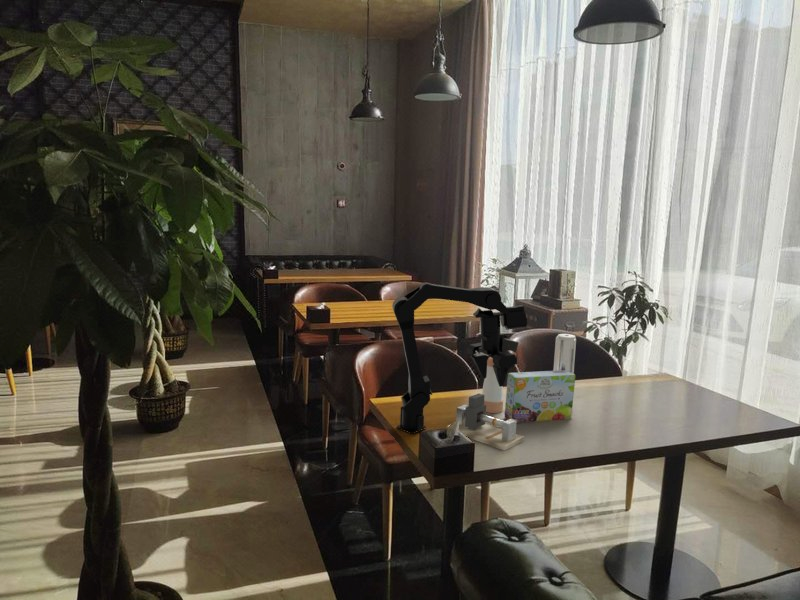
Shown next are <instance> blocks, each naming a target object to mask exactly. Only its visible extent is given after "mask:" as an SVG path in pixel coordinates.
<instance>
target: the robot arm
mask: <svg viewBox="0 0 800 600" xmlns="http://www.w3.org/2000/svg"><path fill="white" fill-rule="evenodd" d="M430 298H431V299H439V300H445V301H446V300H447V301H454V302H461V303H469V304H471V305H474V306H477V307H478V308H477V309H476V311H474V312H473V314H472V315H473V317H475V319H477V318H478V319H480V320H479V323H480V333H478V334H477V336H478V337H477V338H478V339H480V342H478V343H472V344H469V345H468V346H467V348H466V349H467V355H469V358H471V360H472V362H473V363H474V364H475V366H476V369H477V370H478V372H479V374H480V376H481V378H482V379H483V380H484V379H485V378H486V375H487V360H488V358H489V357H491V358H493V363H494V365H493V369H494V372H495V375H496V378H497V381H498V384H499V386H500V387H501V386H504V384H505V382H506V379H507V376H508V373H509V370H510V369H511V367H515V366H516V365H518V363H519V361H518V360H519V359H518V356H517V355H516V354H515V353H517V351H518V348H519V343H520V342H518V341H515V340H513V339H510V338H508V335H507V334H504V333H502V332H501V327H503V328H505V330H518V329H526V328H527V327H528V317H527V314H526V311H525V306H524V305H523V304H521V305H520V304H519V305H518V304H517V305H513V306H506V305H505V304H504V302H503V301H502V296H501V294H500V292H499V291H497V290H495V289H493V288H491V287H473V288H463V287H457V286H456V287H455V286H450V285H442V284H435V283H434V284H433V283H430V282H427V281H426V282H423V283H421V284H420V285H419V286H417V287H416V288H414V289H413V290H411V291H410V292H408V293H406V294H404V296H398V297H396V298H395V299H394V301H393V302H392V303H391V304H392V305H391V306H392V307H391V308H392V311H393V313H394V316H395V318H396V322H397V324H398V327H399V329H400V334H401V339H402V344H403V345H402V346H403V350H404V355H405V360H406V366H407V370H408V381H407V382H408V384H407V385H408V390H407V391H406V393H404V394H403V395H402V396H401V398H400V399H401V402H402V406H400V417H399V419H400V423H399V424H397V426H396V429H399V430H401V429H402V430H401V431H403V430H405V431H404V432H406V431H408V432H410V433H409V434H411V433H413V434H415V433H414V432H416V431H418V432H420V431H419V430H421V429H423V430H425V429H424V428H427V426H426V425H424V424H425V423H424V422H425V415H424V408H425V406H427V405H428V404H429V403H430V402H431V396H432V395H433V392H432V391H431V383H430V379H429V377H428V375H423V372H422V367H421V362H420V357H419V356H420V355H419V351H418V345H417V340H416V335H415V329H414V327H415V311H416V310H417V309H419V308H420V307H421V306H422V305H423V304H424V303H425V302H426V301H427V300H428V299H430ZM481 308H483V310H482V309H481ZM484 309H485V310H484ZM494 310H496V311H497V312H493V311H494ZM509 351H510V352H509ZM421 431H422V430H421ZM408 432H407V433H408ZM416 433H417V432H416Z"/></svg>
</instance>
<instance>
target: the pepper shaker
mask: <svg viewBox="0 0 800 600" xmlns="http://www.w3.org/2000/svg"><path fill="white" fill-rule="evenodd" d="M493 365H494V363H493V358H491V357H489V358H488V360H487V375H486V378H484V379H483V384H482V385H483V386H482V393H481V394H483V395H484V404H485V405H486V413H489V414H498V413H502V412H503V411H504V409H503V408H504V399H503V393H504V387H503V386H504V385H503V386H501V387H500V386H499V384H498V381H497V378H496V375H495V372H494V369H493Z"/></svg>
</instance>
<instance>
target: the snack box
mask: <svg viewBox="0 0 800 600" xmlns="http://www.w3.org/2000/svg"><path fill="white" fill-rule="evenodd" d="M506 379H507V381H506V391H505V392H506V395H505V405H504V407H505V409H504V419H506V421H507V420H509V419H513V420H516V421H517V423H516V424H520V423H531V422H533V423H535V421H536V422H547V421H548V420H550V421H561V419H564V420H571V419H572V415H573V414H572V413H573V407H574V406H573V404H574V403H573V402H574V394H575V386H576V385H575V383H576V374H575V373H574V374H573V373H571V372H569V371H567V370H560V371H553V370H544V371H543V370H541V371H525V372H524V371H523V372H520V371H519V372H507V378H506ZM548 422H549V421H548Z"/></svg>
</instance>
